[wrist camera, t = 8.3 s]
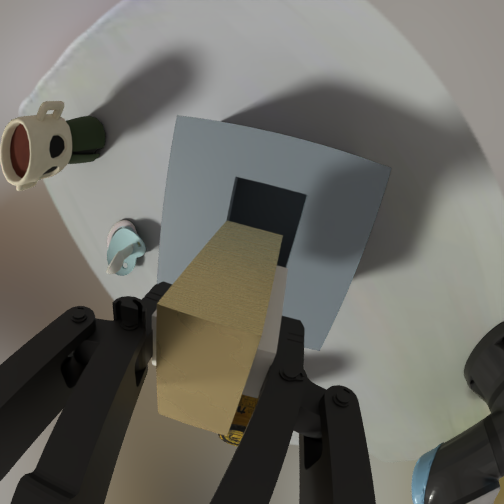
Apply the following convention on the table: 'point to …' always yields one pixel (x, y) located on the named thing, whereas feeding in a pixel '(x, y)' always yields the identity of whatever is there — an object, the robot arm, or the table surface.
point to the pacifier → (123, 248)
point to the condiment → (240, 420)
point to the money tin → (272, 209)
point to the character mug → (47, 144)
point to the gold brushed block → (214, 326)
